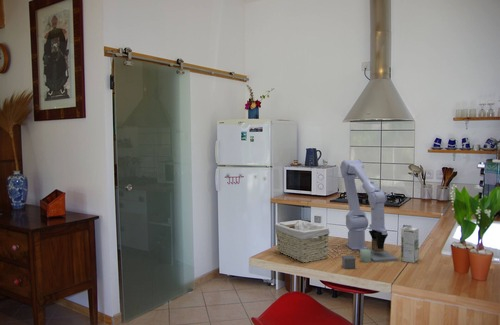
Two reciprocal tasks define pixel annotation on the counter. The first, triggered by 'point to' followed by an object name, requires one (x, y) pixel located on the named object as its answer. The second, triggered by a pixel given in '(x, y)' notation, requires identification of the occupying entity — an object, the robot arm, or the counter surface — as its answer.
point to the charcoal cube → (348, 262)
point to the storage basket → (302, 240)
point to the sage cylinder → (365, 255)
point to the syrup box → (409, 244)
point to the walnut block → (375, 247)
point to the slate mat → (382, 256)
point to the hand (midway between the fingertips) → (378, 247)
